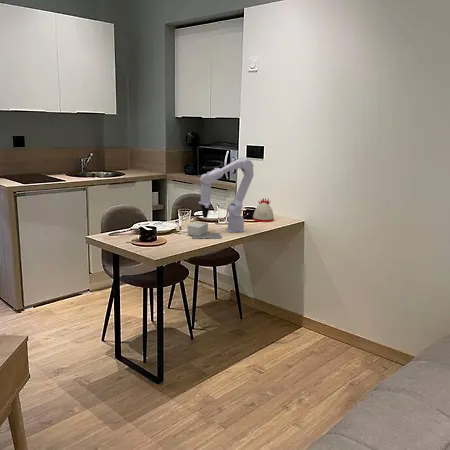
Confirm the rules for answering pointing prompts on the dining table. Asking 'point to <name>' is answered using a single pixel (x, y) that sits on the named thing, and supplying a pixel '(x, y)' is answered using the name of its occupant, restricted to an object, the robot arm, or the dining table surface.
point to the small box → (197, 228)
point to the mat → (207, 236)
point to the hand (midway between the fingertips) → (205, 217)
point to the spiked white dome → (263, 212)
